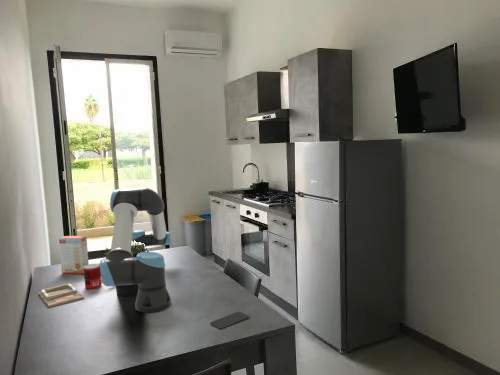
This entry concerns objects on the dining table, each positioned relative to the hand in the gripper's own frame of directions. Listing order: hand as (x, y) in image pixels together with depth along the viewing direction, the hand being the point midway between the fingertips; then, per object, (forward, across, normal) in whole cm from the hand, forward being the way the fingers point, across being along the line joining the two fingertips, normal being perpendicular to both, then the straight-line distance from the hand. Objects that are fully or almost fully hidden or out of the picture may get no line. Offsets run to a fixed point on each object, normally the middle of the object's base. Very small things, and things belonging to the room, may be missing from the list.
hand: (97, 272), depth 203 cm
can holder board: (+19, +4, -6) cm, 21 cm away
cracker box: (-10, +30, -6) cm, 32 cm away
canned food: (+4, 0, -6) cm, 7 cm away
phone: (+12, -85, -7) cm, 86 cm away
